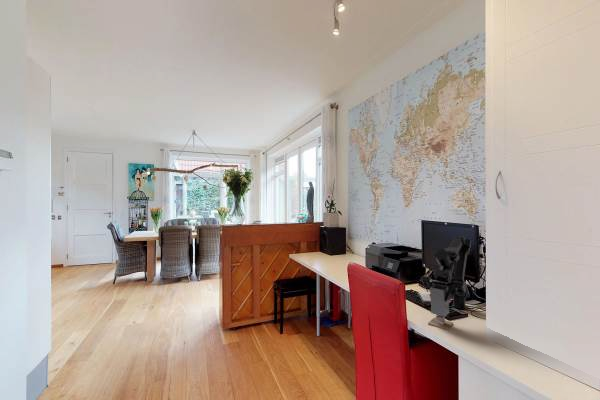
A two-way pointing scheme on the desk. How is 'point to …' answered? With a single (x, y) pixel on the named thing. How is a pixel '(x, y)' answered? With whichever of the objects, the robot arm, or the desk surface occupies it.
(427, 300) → the calculator
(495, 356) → the desk surface
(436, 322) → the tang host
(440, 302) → the socket sleeve
